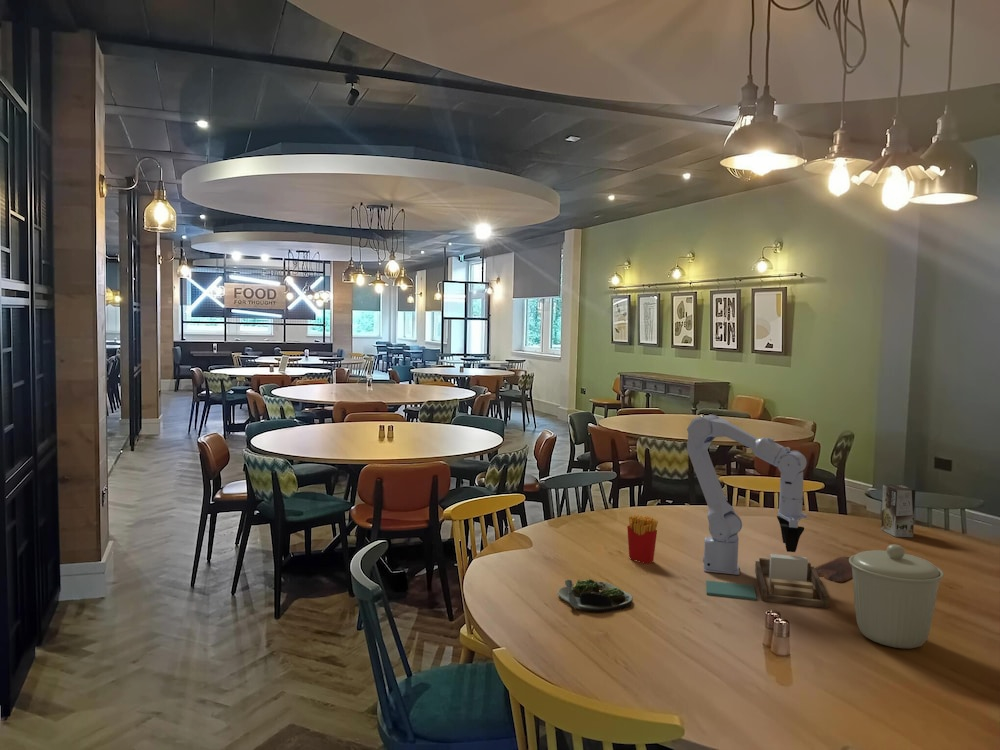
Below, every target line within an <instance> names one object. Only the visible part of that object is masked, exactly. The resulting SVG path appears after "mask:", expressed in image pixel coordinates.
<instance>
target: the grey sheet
mask: <svg viewBox="0 0 1000 750" xmlns="http://www.w3.org/2000/svg"><path fill="white" fill-rule="evenodd" d="M769 559H770V571H769V574H768V577H769V578H768V582H769V583H770V578H771V579H782V580H792V581H803V582H808V578H807V566H808V563H809V562H808V558H807V557H806V556H799V555H798V556H796V555H788V554H775V553H770V554H769Z"/></svg>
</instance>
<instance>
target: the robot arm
mask: <svg viewBox="0 0 1000 750" xmlns="http://www.w3.org/2000/svg"><path fill="white" fill-rule="evenodd" d="M686 431H687V433H688V435H687V442H686V451H687V454H688V457H689V459H690V462H691V464H692V467H693V469H694V472H695V475H696V477H697V481H698V483H699V486H700V488H701V491H702V494H703V496H704V499H705V501H706V502H705V503H706V504H707V507H708V511H707V516H706V517H707V520H708V531H709V534H710V535H711V536H705V537H704V547H703V548H704V551H703V552H704V553H703V556H702V564H703V572H706V573H714V574H715V573H718V574H726V575H727V574H728V575H736V576H739V575H740V574H741V573H740V569H739V539H740V538H739V535H738V534H739V533H740V532H741V531H742V527H743V521H742V519H741V517H740V516H739V515H738V514H737V513H736V512H735V511H736V510H735V508H734V507H733V506H732V505H731V504H730V503H729V502H728V501H727V498H726V495H725V494H724V490H723V488H722V485H721V483H720V480H719V478H718V477H719V476H718V475H717V472H716V469H715V467H714V465H713V462H712V459H711V456H710V454H709V451H708V450H709V448H710V445H711V444H712V442H713V440H715V439H716V438H721V437H722V438H723V437H724V438H727V439H730V440H733V441H735V442H736V443H738V444H741V445H743V446H745V447H747V448H750V449H751V450H752V453H753V454H754V456H755V457H756V458H759V459H761V460H763V461H764V462H766V463H768V464H770V465H772V466H774V467H776V468H778V471H779V472H780V478H779V499H778V500H779V502H778V512H777V515H776V518H777V520H778V522H779V527H780V532H781V538H782V539H781V540H782V543H783V544H785V550H786V552H788V553H796V551H797V548H798V544H799V540H800V538H801V536H802V534H803V533H804V531H805V527H804V526H799V522H800V521H801V520H802V519H803V518H804V519H807V518H808V514H806V513H803V503H804V501H803V499H804V470H805V469H806V467H807V464H808V463H807V458H806V456H805V455H804V454H803V453H801V452H800V450H791V447H789V446H786V447H785V446H783V445H781V444H780V443H777V442H775V439H774V438H772V437H761V438H758V437H757V436H754V435H753V434H750V433H749V432H747V431H745V430H744V429H742V428H740V427H739V426H737V425H735V424H733V423H732V422H731V421H728V420H727V419H725V418H723V417H719V416H717V415H716V414H708V415H705V416H698V417H695V418H693V419H692V420H691V421H690V423H689V424H688V426H687V428H686Z"/></svg>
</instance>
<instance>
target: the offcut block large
mask: <svg viewBox="0 0 1000 750" xmlns="http://www.w3.org/2000/svg"><path fill="white" fill-rule="evenodd" d="M774 585H780V586H788V587H797V588H805V589H812V590H813V591H814V585H813V583H812V581H811V582H809V581H807V582H803V581H792V580H782V579H771V578H770V582H769V593H770V594H771V595H774Z"/></svg>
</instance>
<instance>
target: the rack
mask: <svg viewBox="0 0 1000 750" xmlns="http://www.w3.org/2000/svg"><path fill="white" fill-rule="evenodd" d="M754 561H755V563H754V564H755V565H754V566H755V567H754V568H755V569H754V573H755V576H756V580H757V586H758V589H759V594H760V597H761V601H763V602H771V603H781V604H789V605H797V606H798V605H799V606H805V607H806V606H807V607H815V608H824V609H825V608H826V609H829V599H830V597H829V594H828V591H827V589H826V588H825V586H824V584H823V582H822V580H821V577H819V576H818V574H817V572H816V570H815V568H816V567H815V566H811V565H812V563H811V562H808V566H807V579H810V581H811V582H812V584H813V589H815V592H816V594H817V596H818V598H819V599H815V598H813V599H808V598H799V597H789V596H780V595H774V594H771V593H770V594H769V593H768V589H767V585H766V581H765V579H764V578H765V577H764V575H769V571H770V558H764V557H759V560H754Z"/></svg>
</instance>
